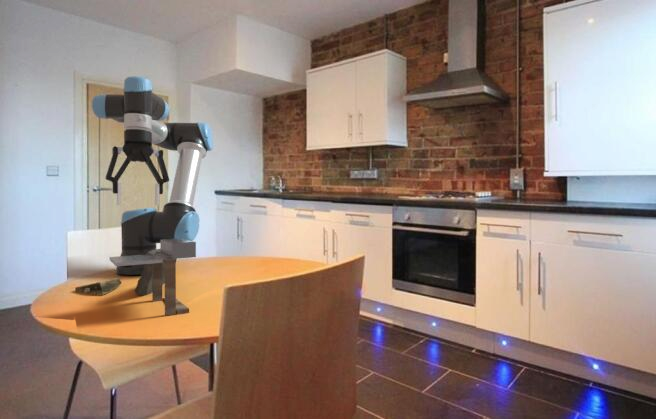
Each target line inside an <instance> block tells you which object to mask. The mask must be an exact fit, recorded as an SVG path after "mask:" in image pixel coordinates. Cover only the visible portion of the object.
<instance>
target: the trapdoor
mask: <svg viewBox="0 0 656 419" xmlns="http://www.w3.org/2000/svg"><path fill="white" fill-rule="evenodd" d="M159 244H160V248H159V249H160V252H156V254H149V255H133V256H120V255H119V256H109V261H110V262H111V263H112V264H113V265H114V266H115V267H117V266H127V265H140V264H153V263H165V259H177V260H178V259H186V258H187V259H189V258H197V242H196V241H194V240H193V241H190V240H186V239H162V240H160V243H159Z"/></svg>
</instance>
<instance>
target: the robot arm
mask: <svg viewBox="0 0 656 419" xmlns="http://www.w3.org/2000/svg"><path fill="white" fill-rule="evenodd" d="M152 85H153V84H152V82H151V80H150V79H148V78H146V77H142V76H134V75H133V76H128V77H126V78H124V84H123V90H122V91H123V94H114V93H111V94H110V93H109V94H107V93H105V94H97V95H94V96H93V98H92V100H91V108H92V112H93V114H94V115H95V117H97V118H98V119H105V120H107V119H108V120H109V119H110V120H111V119H112V120H113V121H115V122H117V123H119V124H121V125H123V128H124V129H125V130H124V131H123V138H124V139H123V140H124V141H123V146H121V147H120V146H116V145H115V146H113V147H112V148H111V154H112V156H111V159H110V162H109V165H108V168H107V171H106V174H105V180H107V181H109V182H111V183H112V194H115V195H116V206H122V182H119V180H120V179H121V177H122V176H123V175H124V172H125V171H126V168H127V167H128V166H129V164H130V163H131V162H132V163H133V162H134V163H135V162H139V163H145V165H146V166H147V167H148V169H149V171H150V172H151V174H152V176H153V177H154V179H155V181H156V183H155V184H154V206H160V195H163V193H164V184H165V183H168V182H170V177H169V173H168V170H167V167H166V163H165V160H164V150H163V149H165V150H168V151H172V152H173V151H174V152H176V151H177V153H178V154H179V155H178V161H177V165H176V169H175V174H174V179H173V183H172V188H171V192H170V196H169V201H168V202H166V203H165V204H164V205H163V209H162V210H161V211H157V209H156V207H149V208H148V207H147V208H139V209H138V208H137V209H131V210H126V211H124V212H123V213H122V214H121V222H120V226H121V230H120V231H121V253H120V255H119V256H133V255H146V254H147V253H148V252H149V251H152V250H156V249H157V244H160V240H162V239H186V240H190V241H194V240H195V239H196V238H197V236H198V234H199V230H200V216H199V213H198V212H197V211H196V208H195V207H194V201H195V195H196V191H197V185H198V181H199V180H198V179H199V174H200V170H201V163H202V160H203V159H205V157H207V152H211V151H212V150H213V149H214V140H213V139H214V138H213V133H212V129H211V126H210V125H209V124H208V123H206V122H163V121H164V120H165V119H167V117H168V116H169V114H170V107H169V104H168V103H167V102H166V101H165V99H164V98H162V97H161V96H159V95H157V94H155V93H154V92H153V86H152ZM153 145H155V146H157V147H159V148H162V149H154V148H153ZM121 152H123V153H124V154H125V156H126V158H125V160H123V163H122V164H121V166H120V167H119V168H118V171H117V172H116V174H115V175H114V177H113V173H114V170H115V167H116V163H117V160H118V157H119V155H120V154H122V153H121ZM153 154H154V156H155V157H156V159H157V163H158V166H159V169H160V173H161V175H160V173H159V172H158V170H157V168H156V167H155V165H154V163H153V160H152V159H151V156H152V155H153ZM161 176H162V177H161ZM143 269H144V264H140V265H127V266H116V274H117V275H124V276H125V275H128V276H131V275H142V272H143Z"/></svg>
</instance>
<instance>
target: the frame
mask: <svg viewBox="0 0 656 419" xmlns="http://www.w3.org/2000/svg"><path fill="white" fill-rule="evenodd" d="M155 254H156V253H155ZM176 263H177V260H176V259H165V283H164V297H163V285H162V263H153V264H152V293H151V294H152V302H153V303H154V302H161V301H163V302H164V316H165V317H169V316H176V315H183V314H189V313H190V308H189V307H188V306H186V305H185V304H183V302H181V301H180V300H179V299H177V291H176V290H177V289H176V288H177V284H176V282H177V281H176V280H177V279H176V278H177V277H176V276H177V275H176V268H177V267H176V265H177V264H176Z"/></svg>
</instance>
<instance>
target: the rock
mask: <svg viewBox="0 0 656 419" xmlns="http://www.w3.org/2000/svg"><path fill="white" fill-rule="evenodd" d="M120 285H122V280H121V279H120V278H117V277H116V278H112V279H109V280H103V281H102V280H101V281H99V282H95V283H93V282H92V283H89V284H85V285H80V286H76V287H75V290H74V292H75V293H80V294H86V295H91V296H98V297H99V296H102V297H103V296H104V295H107V294H109V293H111V292H112V291H113V290H115V289H117V288H118V287H119V286H120Z"/></svg>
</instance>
